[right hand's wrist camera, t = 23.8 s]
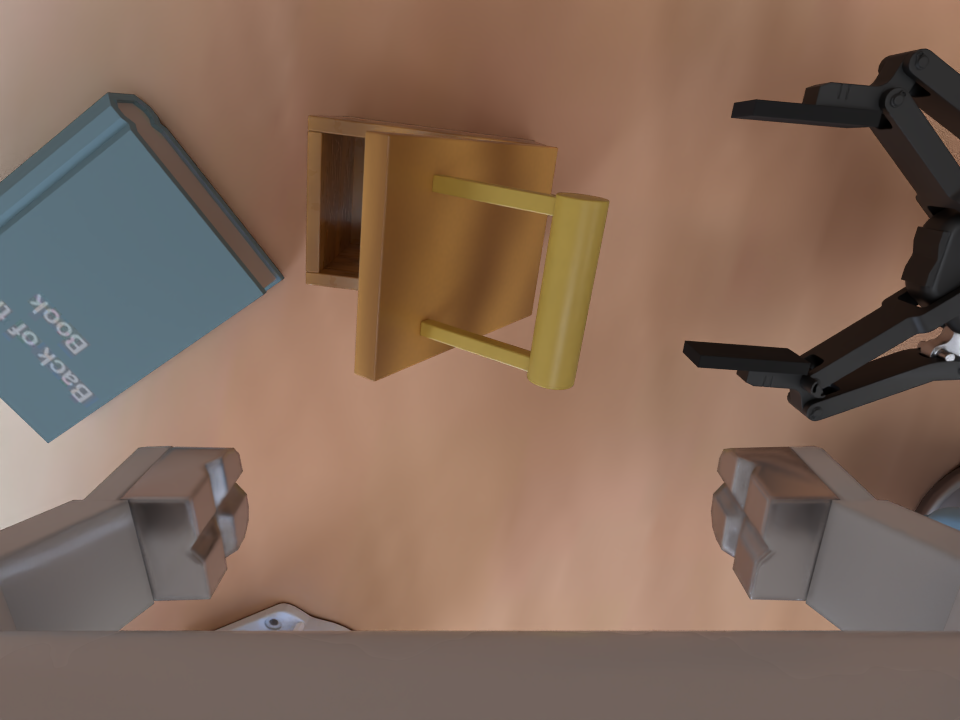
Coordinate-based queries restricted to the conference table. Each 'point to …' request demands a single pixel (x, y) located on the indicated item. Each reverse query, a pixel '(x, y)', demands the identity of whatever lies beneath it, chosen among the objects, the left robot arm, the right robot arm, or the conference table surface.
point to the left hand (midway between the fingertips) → (714, 239)
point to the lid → (471, 255)
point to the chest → (347, 192)
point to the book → (112, 263)
